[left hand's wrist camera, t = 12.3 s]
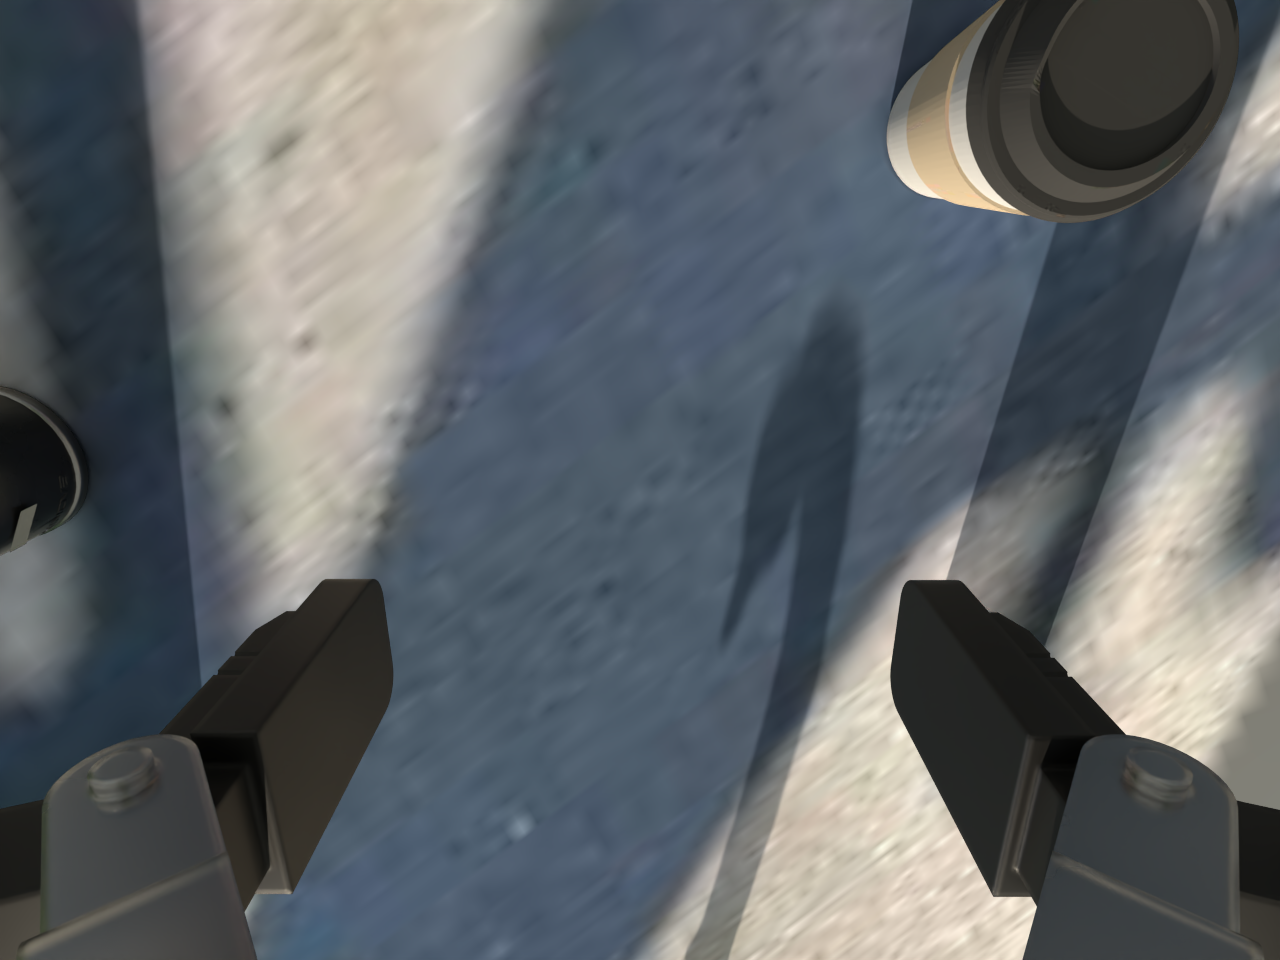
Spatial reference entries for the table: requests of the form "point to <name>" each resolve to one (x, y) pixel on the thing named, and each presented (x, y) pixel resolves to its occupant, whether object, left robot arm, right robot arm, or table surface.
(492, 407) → the table surface
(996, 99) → the coffee cup
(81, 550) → the table surface
